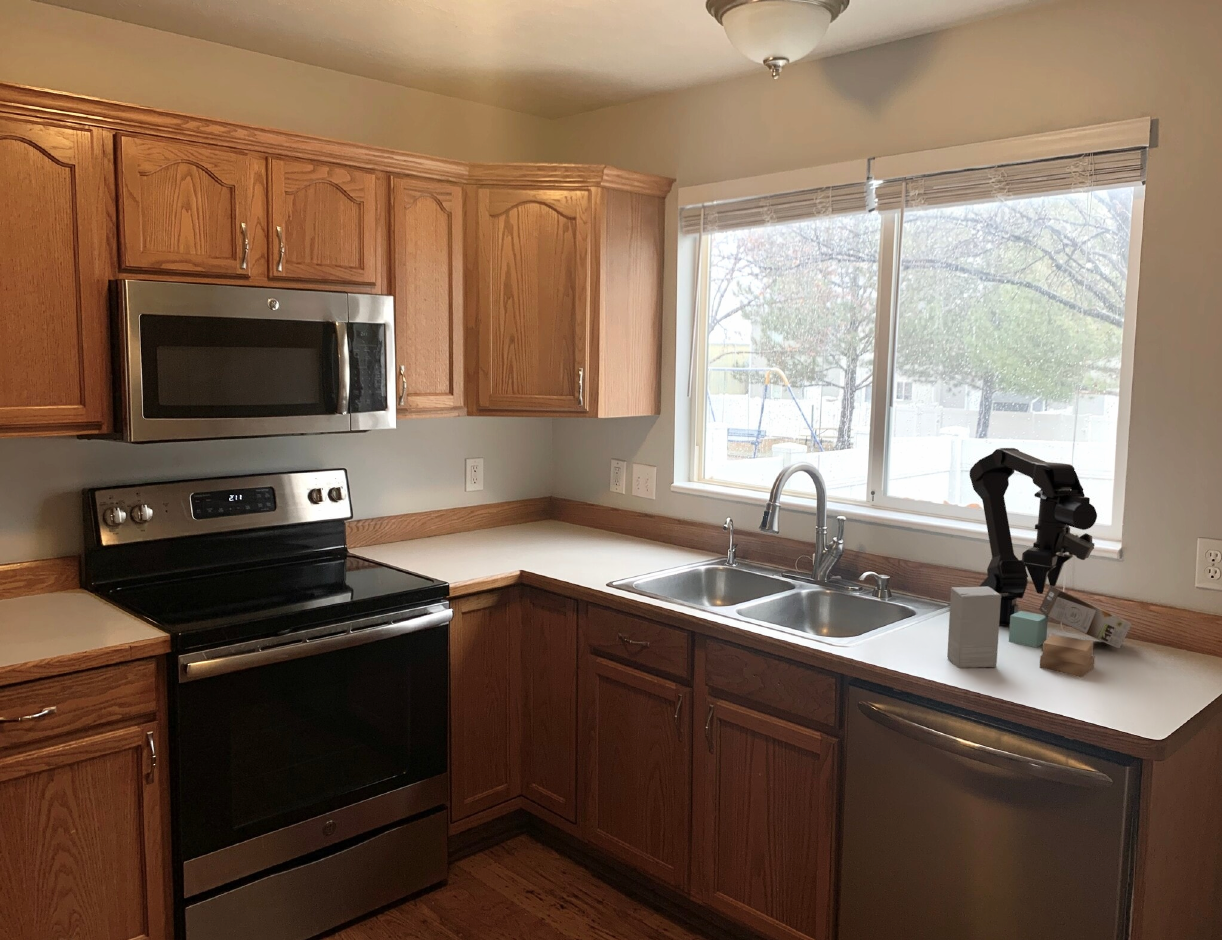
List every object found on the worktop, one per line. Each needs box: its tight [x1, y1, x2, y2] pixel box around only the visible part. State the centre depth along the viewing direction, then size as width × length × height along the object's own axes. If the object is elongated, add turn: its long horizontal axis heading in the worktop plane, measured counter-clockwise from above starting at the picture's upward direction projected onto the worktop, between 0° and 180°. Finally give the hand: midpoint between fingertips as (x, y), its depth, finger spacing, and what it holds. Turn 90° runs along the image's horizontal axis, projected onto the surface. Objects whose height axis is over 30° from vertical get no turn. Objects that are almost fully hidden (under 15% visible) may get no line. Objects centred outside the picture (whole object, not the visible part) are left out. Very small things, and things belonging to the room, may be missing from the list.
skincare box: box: [946, 586, 1001, 669], centre depth 194 cm, size 8×7×16 cm
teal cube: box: [1008, 610, 1049, 648], centre depth 211 cm, size 6×6×6 cm
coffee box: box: [1038, 585, 1132, 650], centre depth 210 cm, size 9×6×16 cm
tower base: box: [1039, 654, 1096, 678], centre depth 193 cm, size 8×8×3 cm
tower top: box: [1041, 633, 1095, 665], centre depth 193 cm, size 8×8×3 cm
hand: (1046, 589), depth 209 cm, fingers open, 9 cm apart
